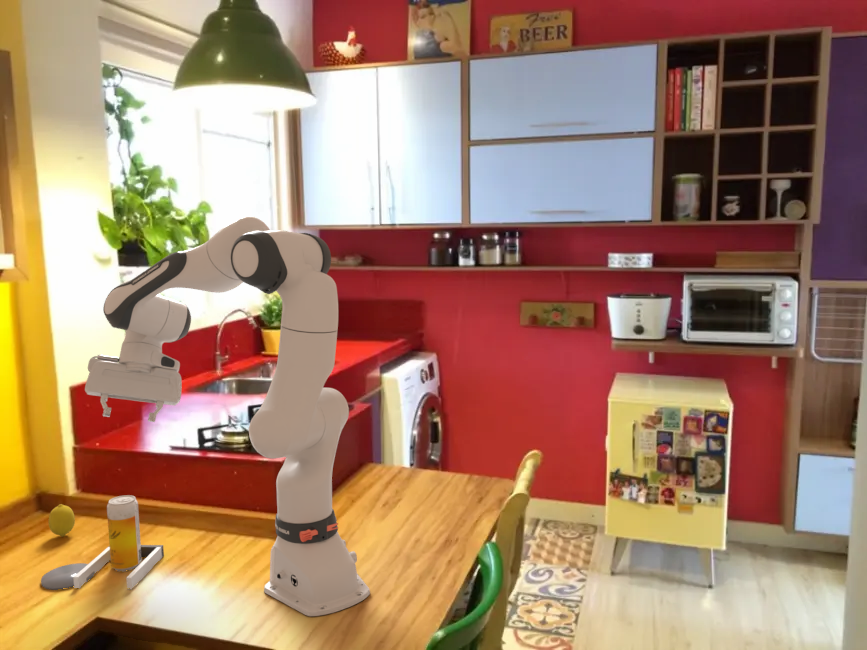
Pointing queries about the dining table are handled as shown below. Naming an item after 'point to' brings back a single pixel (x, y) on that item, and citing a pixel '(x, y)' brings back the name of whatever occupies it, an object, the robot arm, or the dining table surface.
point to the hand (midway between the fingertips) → (129, 418)
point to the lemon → (61, 520)
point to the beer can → (124, 532)
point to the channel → (152, 557)
